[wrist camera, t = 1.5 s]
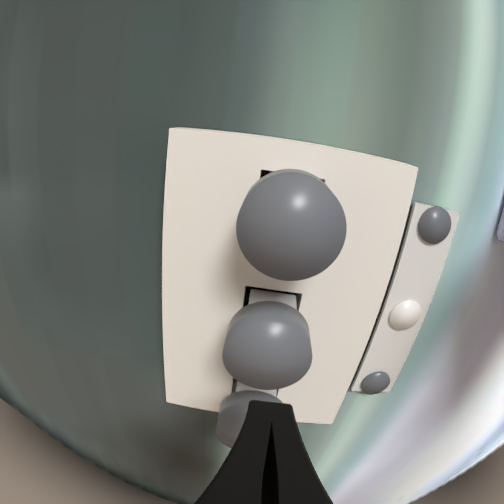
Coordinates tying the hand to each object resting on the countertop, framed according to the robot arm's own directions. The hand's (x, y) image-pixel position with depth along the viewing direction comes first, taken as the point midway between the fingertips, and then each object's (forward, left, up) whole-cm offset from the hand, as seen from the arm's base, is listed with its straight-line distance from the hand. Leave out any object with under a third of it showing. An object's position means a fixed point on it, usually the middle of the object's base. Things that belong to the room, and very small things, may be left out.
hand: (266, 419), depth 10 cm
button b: (0, +1, -8) cm, 8 cm away
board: (0, +1, -10) cm, 10 cm away
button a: (0, -5, -8) cm, 10 cm away
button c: (0, +7, -8) cm, 11 cm away
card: (-9, +1, -10) cm, 13 cm away
